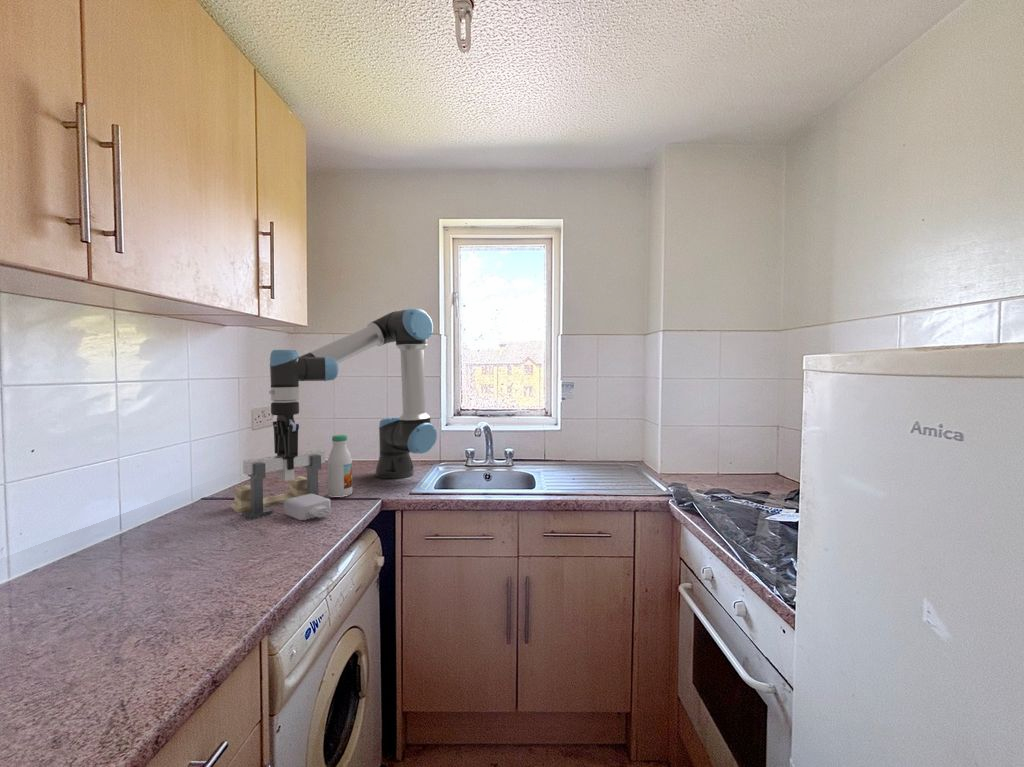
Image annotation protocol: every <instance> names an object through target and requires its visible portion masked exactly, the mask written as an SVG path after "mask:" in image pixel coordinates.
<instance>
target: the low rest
mask: <svg viewBox="0 0 1024 767" xmlns="http://www.w3.org/2000/svg"><path fill="white" fill-rule="evenodd" d="M288 484H289V485H288V486H289V492H288V493H287V492H286V493H282V494H276V495H272V496H266V497H263V507H264V506H267V507H270V506H269V505H272V506H275V505H274V504H276V505H280V504H279V503H281V504H284V503H283V502H284V501H285V500H287V499H289V498H293V497H297V496H302V495H306V494H307V477H305V476H301V475H299V476H295V479H294V480H289V482H288ZM233 497H234V503H231V504H230V506H229V507H231V508H230V509H232V510H233V509H234V510H233V511H235V512H236V511H237V512H236V513H242V511H244V510H249V509H251V484H250V485H249V484H246V485H242V486H237V487H236V486H235V487H234V496H233Z"/></svg>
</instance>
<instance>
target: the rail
mask: <svg viewBox="0 0 1024 767" xmlns="http://www.w3.org/2000/svg"><path fill="white" fill-rule="evenodd" d="M325 452H326V451H324V450H321V449H317V450H309V451H304V452H303V451H302V452H301V451H300V452H298V456H297V457H295V458H294V469H295V468H299V467H300V468H301V467H304V466H307V465H312V456H317V455H321V464H325V463H326V456H325V455H326V453H325ZM284 457H285V455H280V456H277V455H274V456H266V457H259V458H252V459H246V460H242V471H243V472H242V473H243V474H244V475H246V476H248V475H251V474H255V464H260V463H265V473H268V472H269V473H270V472H275V471H278V470H282V469H284V460H283V458H284Z"/></svg>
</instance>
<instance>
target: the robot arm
mask: <svg viewBox="0 0 1024 767" xmlns="http://www.w3.org/2000/svg"><path fill="white" fill-rule="evenodd" d="M433 331H434V323H433V320H432V318H431V317H430V315H429V314H428V313H427V312H426V311H425V310H424V309H420V308H408V309H407V308H406V309H403V310H397V311H396V310H395V311H391V312H388V313H387V314H385V315H383V316H381V317H379V318H377V319H375V320H373V321H371V322H369V323H367V325H366V327H364V328H362V329H360V330H357V331H355V332H353V333H351V334H348V335H346V336H344V337H341V338H339V339H336V340H335V341H332V342H330V343H328V344H325V345H323V346H321V347H318V348H317V349H314V350H312V351H309V352H307V353H305V354H302V355H299V351H298V350H296V349H274V350H271V352H270V356H269V357H270V359H269V372H270V375H269V376H270V377H269V378H270V390H269V391H268V392H269V394H270V400H271V401H272V402H271V403H270V414H271V415H272V416H277V417H276V420H275V421H273V422H272V427H273V440H274V442H273V443H274V454H276V456H280V455H285V457H284V458H283V460H284V469H282V470H277V472H278V475H277V476H278V479H283V481H284V482H288V481H289V480H294V479H295V477H296V476H295V472H296V471H295V468H294V458H295V457H297V456H298V453H299V428H300V425H299V423H295V422H296V421H295V417H294V415H298V414H299V413H300V403H299V400H300V384H299V383H300V382H321V381H322V382H327V381H328V382H329V381H334V380H335V379H337V377H338V375H339V364H340V363H342V362H344V361H346V360H348V359H350V358H352V357H355V356H356V355H359V354H361V353H363V352H364V351H367V350H369V349H370V348H373V347H375V346H377V347H382V346H384V345H386V344H390V343H394V342H395V346H396V348H398V350H400V372H401V373H400V374H401V395H402V396H401V397H402V398H401V401H402V414H401V415H400V416H397V417H388V418H387V417H386V418H381V420H379V425H378V426H379V427H378V430H379V431H378V432H379V433H378V435H379V456H378V457H379V458H378V460H377V463H376V467H375V470H374V473H375V474H374V476H375V477H376V476H377V477H376V478H379V477H380V478H379V479H388V478H392V479H402V478H408V477H411V476H412V475H414V474H415V466H414V463H413V461H412V457H411V455H410V454H411V453H412V454H421V455H422V454H426V453H428V452H429V451H430V450H432V449H433V447H434V446H435V444H436V442H437V440H438V439H437V437H438V432H437V428H436V427H435V426H434V424H432V423H431V416H430V415H429V414H428V412H427V404H426V401H427V400H426V378H425V376H426V375H425V372H426V371H425V354H424V352H425V348H426V347H427V346H428V339H429V338H431V335H432V334H433Z"/></svg>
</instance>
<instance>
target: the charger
mask: <svg viewBox="0 0 1024 767" xmlns="http://www.w3.org/2000/svg"><path fill="white" fill-rule="evenodd" d="M318 495H319V494H318ZM318 495H315V494H306V495H302V496H297V497H293V498H289V499H287V500H285V501H284V503H283V513H284V515H286V516H288V517H291V518H293V519H296V520H298V521H301V520H304V521H307V519H308V520H311V519H310V518H312V519H315V518H314V517H316V518H323V517H326V516H328V515H330V514H332V512H333V508H331V498H329V497H324V496H322V495H319V496H318Z"/></svg>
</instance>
